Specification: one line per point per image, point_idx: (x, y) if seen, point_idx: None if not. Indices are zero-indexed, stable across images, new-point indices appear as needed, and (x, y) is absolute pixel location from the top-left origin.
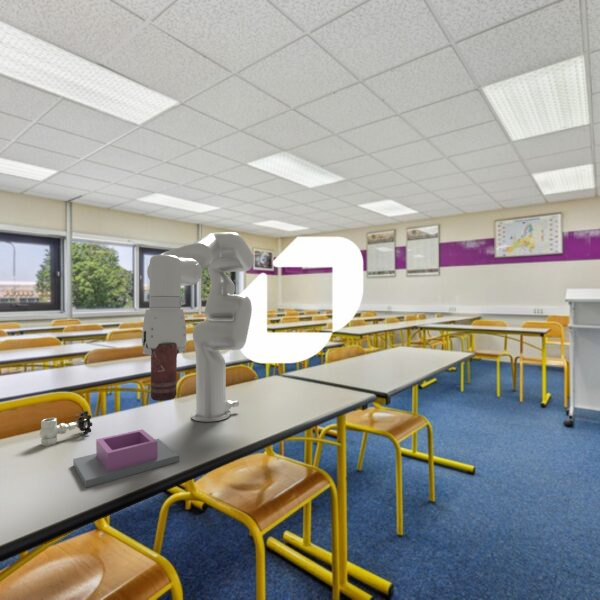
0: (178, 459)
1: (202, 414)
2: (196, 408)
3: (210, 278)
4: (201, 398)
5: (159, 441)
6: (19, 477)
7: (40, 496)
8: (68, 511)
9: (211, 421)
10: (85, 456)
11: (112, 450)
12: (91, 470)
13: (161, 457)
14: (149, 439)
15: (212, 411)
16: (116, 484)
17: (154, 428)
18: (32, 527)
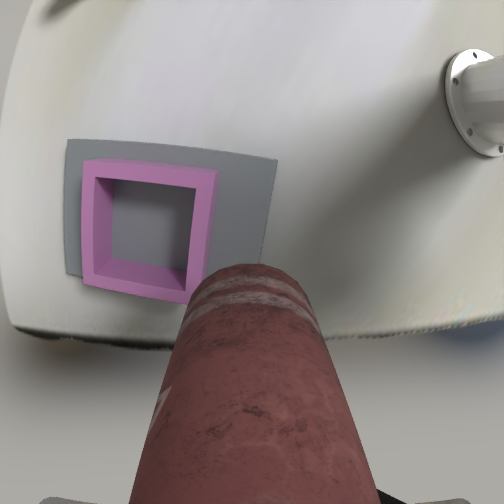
0: None
1: (467, 105)
2: (474, 69)
3: None
4: (498, 99)
5: (267, 184)
6: (10, 133)
7: (24, 241)
8: (52, 317)
9: (464, 139)
10: (87, 143)
11: (94, 276)
12: (79, 236)
13: None
14: (188, 278)
15: (486, 132)
16: (114, 296)
17: (337, 34)
18: (24, 317)
